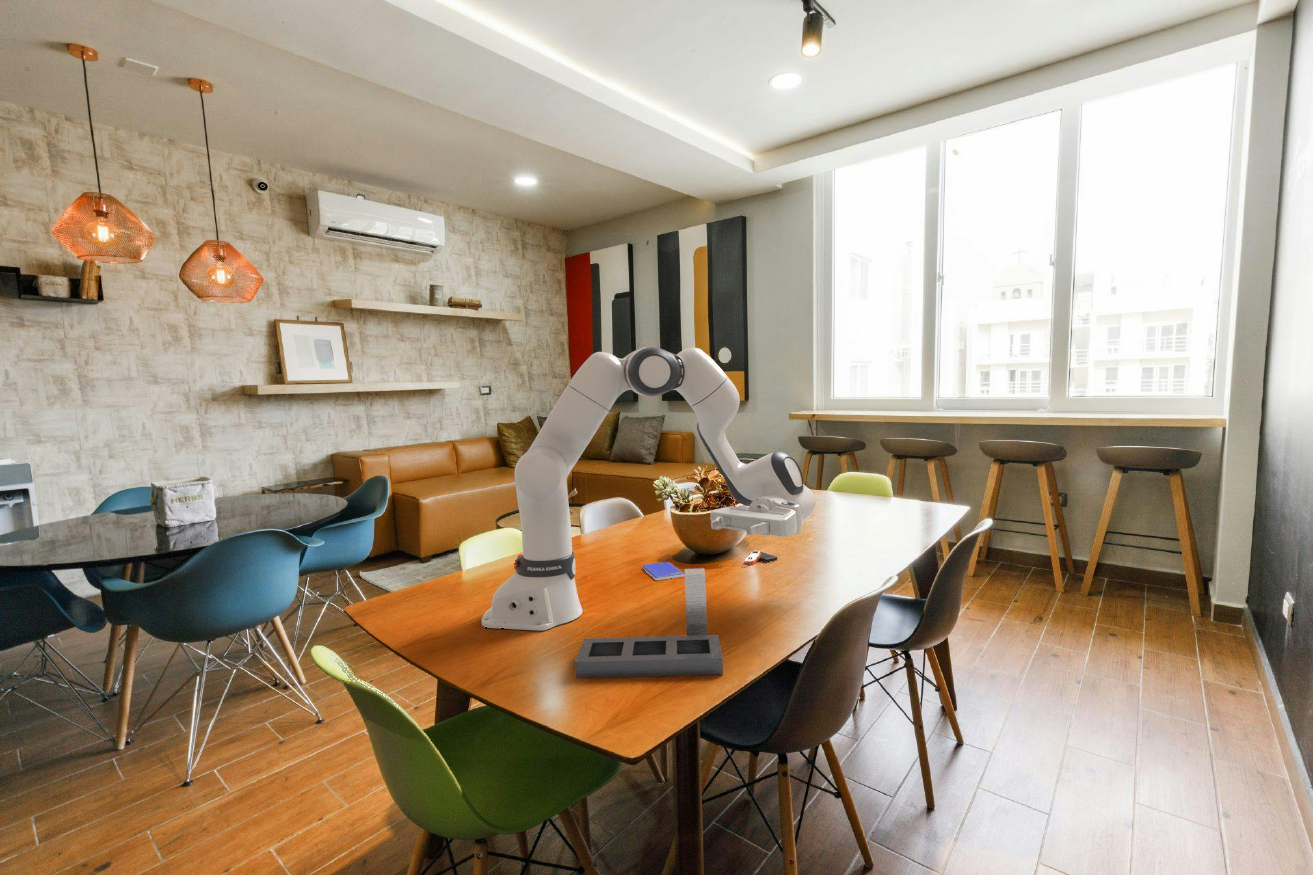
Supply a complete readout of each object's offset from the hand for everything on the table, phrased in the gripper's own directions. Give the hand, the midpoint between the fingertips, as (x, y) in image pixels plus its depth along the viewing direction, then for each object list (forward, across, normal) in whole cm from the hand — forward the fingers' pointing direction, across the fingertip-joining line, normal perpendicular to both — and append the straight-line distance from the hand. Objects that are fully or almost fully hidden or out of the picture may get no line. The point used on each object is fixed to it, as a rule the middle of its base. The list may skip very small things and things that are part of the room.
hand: (730, 528), depth 125 cm
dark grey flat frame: (+26, 0, +20) cm, 33 cm away
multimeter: (-36, -23, +22) cm, 48 cm away
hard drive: (-16, -38, +21) cm, 46 cm away
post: (+12, 0, +20) cm, 24 cm away
